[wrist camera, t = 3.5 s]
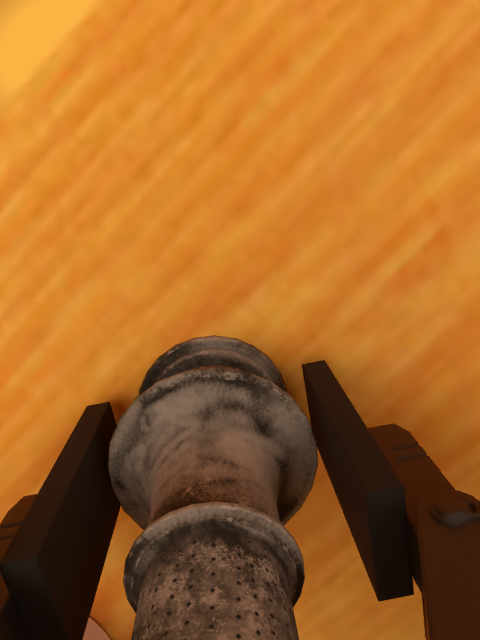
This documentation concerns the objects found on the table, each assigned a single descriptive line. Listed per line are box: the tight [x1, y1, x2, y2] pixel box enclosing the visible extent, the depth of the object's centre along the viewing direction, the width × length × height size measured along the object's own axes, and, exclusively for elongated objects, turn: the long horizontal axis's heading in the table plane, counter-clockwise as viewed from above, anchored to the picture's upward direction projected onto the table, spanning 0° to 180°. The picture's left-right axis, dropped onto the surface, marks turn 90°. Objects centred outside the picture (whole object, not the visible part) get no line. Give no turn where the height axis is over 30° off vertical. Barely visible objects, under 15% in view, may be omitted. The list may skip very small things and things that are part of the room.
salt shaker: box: [108, 336, 318, 640], centre depth 10 cm, size 6×6×12 cm
